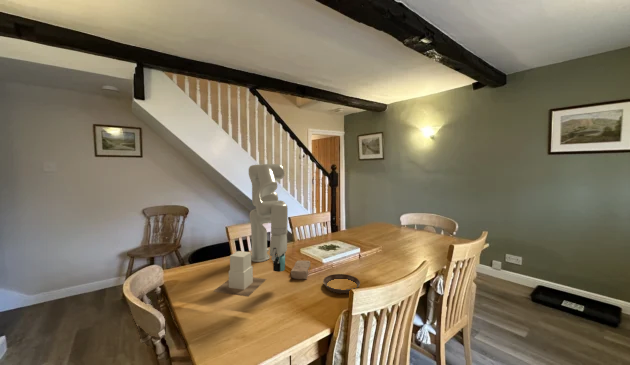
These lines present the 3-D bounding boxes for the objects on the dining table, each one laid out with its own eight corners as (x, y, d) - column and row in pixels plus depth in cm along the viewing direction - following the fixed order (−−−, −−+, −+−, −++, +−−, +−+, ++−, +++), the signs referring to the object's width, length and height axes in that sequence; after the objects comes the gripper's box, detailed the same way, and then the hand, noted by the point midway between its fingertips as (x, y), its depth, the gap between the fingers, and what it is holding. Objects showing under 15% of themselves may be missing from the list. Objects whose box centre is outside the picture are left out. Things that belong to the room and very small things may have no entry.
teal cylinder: (276, 266, 123) (276, 254, 122) (286, 267, 121) (286, 255, 121) (271, 270, 118) (271, 258, 117) (282, 272, 116) (282, 259, 116)
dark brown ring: (336, 276, 137) (336, 270, 137) (366, 285, 125) (366, 279, 125) (315, 288, 123) (315, 282, 123) (347, 300, 112) (347, 293, 112)
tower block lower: (238, 280, 128) (238, 264, 127) (252, 282, 125) (252, 266, 125) (228, 287, 120) (228, 270, 119) (244, 289, 118) (243, 272, 117)
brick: (296, 267, 149) (296, 259, 149) (310, 267, 148) (310, 259, 148) (290, 279, 133) (290, 270, 132) (306, 280, 132) (306, 271, 131)
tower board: (235, 277, 134) (235, 275, 134) (266, 281, 129) (266, 279, 129) (212, 294, 116) (212, 291, 116) (248, 299, 112) (248, 296, 112)
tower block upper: (238, 265, 126) (238, 251, 126) (251, 266, 125) (250, 252, 124) (230, 270, 120) (229, 255, 119) (243, 272, 118) (243, 257, 117)
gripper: (279, 225, 127) (279, 260, 129) (263, 234, 111) (263, 275, 112) (293, 226, 125) (293, 262, 127) (279, 236, 109) (279, 277, 110)
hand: (279, 268), depth 120 cm, fingers closed on teal cylinder, 5 cm apart
